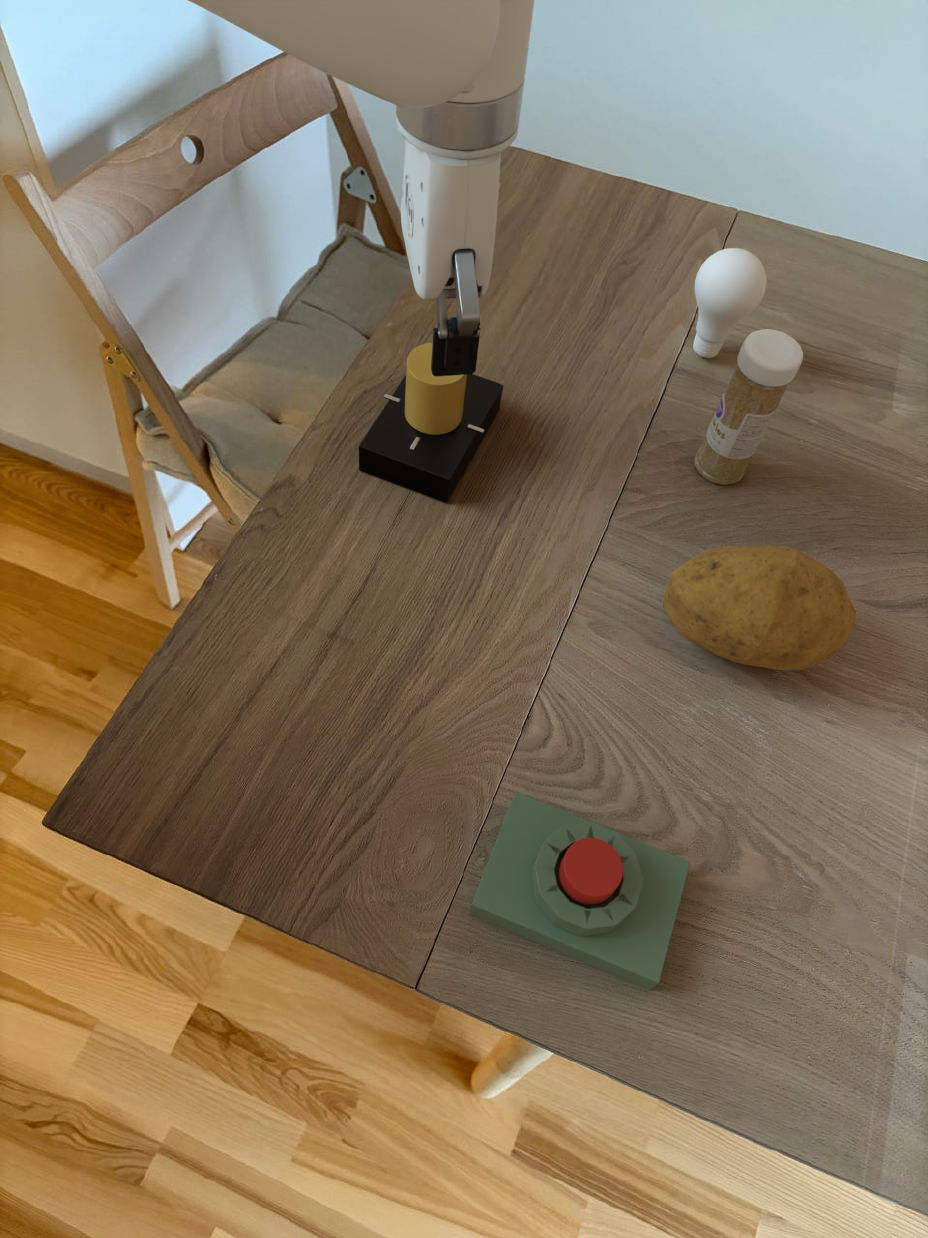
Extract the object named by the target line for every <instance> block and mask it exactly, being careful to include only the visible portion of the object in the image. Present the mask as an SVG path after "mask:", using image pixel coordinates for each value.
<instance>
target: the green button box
mask: <svg viewBox="0 0 928 1238" xmlns="http://www.w3.org/2000/svg"><path fill="white" fill-rule="evenodd" d="M584 838H596V839H600V840H603V841H605V842H607V843H608V844H610V845H611V846H612V847H613V848H614V849H615V850H616V851H617V853H618V854H619V856H620V858H621V861H622V865H623V876H622V880H621V882H620V884H619V886H618V887H617V889H616V890H615V891H614V893H613V894H612V895H611V896H610V897H609V898H608V899H607V900H606V901H604V902H602V903H599V904H595V905H587V904H582V903H579V902H577V901H575V900H574V899H572V898H571V897H570V896H569V895H568V894H567V893H566V892H565V890H564V889H563V887H562V885H561V882H560V878H559V867H560V864H561V861H562V859H563V857H564V856H565V854H566V852H567V850H568V849H569V847H570V846H571V845H572V844H573V843H575V842H576V841H578V840H581V839H584ZM690 865H691V861H689V860H687V859H685V858H682V857H679V856H677V855H675V854H672V853H669V852H667V851H664V850H662V849H660V848H657V847H655V846H652V845H649V844H648V843H645V842H642V841H640V840H637V839H635V838H632V837H630V836H627V835H625V834H623V833H619V832H618V831H616V830H613V829H611V828H609V827H606V826H604V825H601V824H599V823H596V822H593V821H590V820H587V819H584V818H582V817H579V816H578V815H574V814H572V813H569V812H567V811H565V810H562V809H560V808H557V807H554V806H552V805H549V804H547V803H544V802H542V801H539V800H538V799H534V798H532V797H529V796H528V795H525V794H522V793H519V792H517V791H515V792H514V793H513V795H512V798H511V801H510V803H509V806H508V808H507V811H506V813H505V817H504V818H503V822H502V824H501V827H500V829H499V832H498V835H497V837H496V840H495V842H494V845H493V847H492V849H491V853H490V855H489V858H488V860H487V863H486V865H485V868H484V871H483V873H482V875H481V878H480V881H479V883H478V885H477V889H476V891H475V894H474V897H473V898H472V901H471V905H470V907H469V911H468V913H467V914H468V916H471V917H473V918H475V919H476V918H477V919H478V920H481V921H483V922H485V923H488V924H490V925H492V926H494V927H497V928H499V929H502V930H504V931H507V932H509V933H512V934H514V935H516V936H518V937H521V938H524V939H526V940H528V941H531V942H533V943H536V944H538V945H540V946H542V947H545V948H547V949H549V950H551V951H554V952H556V953H559V954H561V955H564V956H567V957H569V958H571V959H574V960H576V961H578V962H581V963H583V964H585V965H587V966H590V967H592V968H595V969H597V970H600V971H602V972H604V973H607V974H609V975H611V976H613V977H616V978H619V979H621V980H623V981H626V982H629V983H631V984H632V985H635V986H638V987H641V988H642V989H645V990H647V991H651V990H653V988H655V987H656V986H657V985H658V984H659V983H660V980H661V976H662V972H663V970H664V966H665V961H666V957H667V955H668V950H669V946H670V942H671V939H672V936H673V931H674V927H675V923H676V920H677V915H678V912H679V908H680V904H681V900H682V896H683V892H684V889H685V885H686V881H687V877H688V874H689V869H690Z"/></svg>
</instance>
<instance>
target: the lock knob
mask: <svg viewBox="0 0 928 1238" xmlns="http://www.w3.org/2000/svg"><path fill="white" fill-rule="evenodd" d="M432 344H433V342H426V343H422V344H420V345H418V346H416V347H414V348H413V349H412V350H411V351H410V352H409V354H408V356H407V357H406V358H407V359H406V371H405V372H406V373H405V375H406V392H405V417H406V420H407V421H408V423H409V424H410V425H411V426H412V427H413V428H414V429H416V430H418V431H420V432H422V433H426V434H432V435H439V434H445V433H448V432H450V431H452V430H454V429H455V428H456V427H457V426H458V425H459V424H460V422H461V420H462V414H463V405H464V397H465V388H466V379H467V375H452V376H434V375H433V374H432V370H431V360H432Z"/></svg>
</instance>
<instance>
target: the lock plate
mask: <svg viewBox="0 0 928 1238" xmlns="http://www.w3.org/2000/svg"><path fill="white" fill-rule="evenodd" d="M503 391H504V384H502V383H499V382H496V381H493V380H491V379H488V378H485V377H482V376H480V375H478V374H477V375H476V374H475V373H473V374H468V375H467V379H466V388H465V397H464V405H463V414H462V420H461V422H460V424H459V425H458V426H457V427H456V428H455V429H454V430H452V431H450V432H448V433H445V434H439V435H432V434H426V433H422V432H420V431H418V430H416V429H414V428H413V427H412V426H411V425H410V424H409V423H408V421H407V420H406V417H405V392H406V374H405V375H404V377H403V378H402V380H401V381H400V383H399V385H398V386H397V387H396V389H395V391H394V392H393V393H392V395H391V394H388V393H385V394H384V395H383V398H384V399H386V400H387V402H386V404H385V405H384V407H383V408H382V410H381V411H380V412H379V415H378V416H377V417H376V419H375V420H374V422H373V424H372V425H371V426H370V428H369V430H368V431H367V433H365V436H364V437H363V439H361V442H360V443H359V445H358V471H359V472H362V473H364V474H367V475H370V476H373V477H375V478H377V479H380V480H383V481H385V482H388V483H391V484H394V485H397V486H399V487H401V488H405V489H407V490H409V491H412V492H415V493H417V494H420V495H423V496H426V497H428V498H431V499H433V500H436V501H439V502H442V503H444V504H448V503H449V501H450V499H451V498H452V496H453V494H454V492H455V491H456V488H457V487H458V485H459V483H460V481H461V480H462V478H463V476H464V474H465V472H466V470H467V469H468V467H469V465H470V464H471V462H472V460H473V458H474V457H475V454H476V453H477V451H478V449H479V447H480V445H481V444H482V442H483V440H484V438H485V437H486V435H487V433H488V431H489V429H490V428H491V426H492V424H493V423H494V421H495V419H496V418H497V415H498V414H499V412H500V411H501V410H500V409H501V403H502V398H503V397H502V396H503Z"/></svg>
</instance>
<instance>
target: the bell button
mask: <svg viewBox="0 0 928 1238" xmlns="http://www.w3.org/2000/svg"><path fill="white" fill-rule="evenodd" d="M622 876H623V865H622V861H621V858H620V856H619V854H618V853H617V851H616V850H615V849H614V848H613V847H612V846H611V845H610V844H608V843H607V842H605V841H603V840H600V839H596V838H584V839H581V840H578V841H576V842H575V843H573V844H572V845H571V846H570V847H569V849H568V850H567V852H566V854H565V856H564V857H563V859H562V861H561V864H560V867H559V878H560V882H561V885H562V887H563V889H564V890H565V892H566V893H567V894H568V895H569V896H570V897H571V898H572V899H574V900H575V901H577V902H579V903H582V904H587V905H595V904H599V903H602V902H604V901H606V900H607V899H608V898H609V897H610V896H611V895H612V894H613V893H614V891H615V890H616V889H617V887H618V886H619V884H620V882H621V880H622Z"/></svg>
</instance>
